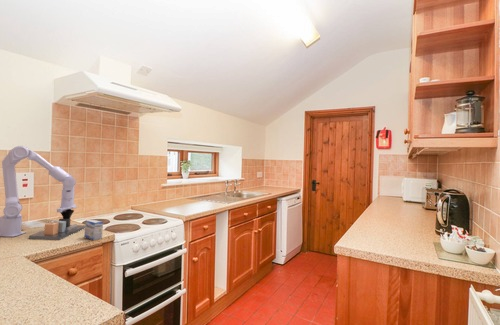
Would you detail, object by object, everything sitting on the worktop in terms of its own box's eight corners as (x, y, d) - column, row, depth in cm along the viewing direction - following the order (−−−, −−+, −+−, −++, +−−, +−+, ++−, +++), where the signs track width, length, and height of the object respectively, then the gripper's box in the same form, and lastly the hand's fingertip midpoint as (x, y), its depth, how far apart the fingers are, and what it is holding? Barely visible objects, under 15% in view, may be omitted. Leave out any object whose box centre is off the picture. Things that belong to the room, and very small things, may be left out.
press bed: (28, 238, 131) (29, 231, 131) (60, 227, 156) (61, 220, 156) (59, 240, 132) (59, 232, 132) (86, 228, 157) (86, 222, 157)
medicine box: (83, 237, 138) (85, 220, 138) (92, 235, 142) (93, 219, 142) (93, 240, 135) (94, 222, 135) (102, 238, 139) (103, 221, 139)
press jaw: (47, 231, 139) (48, 221, 139) (58, 227, 148) (58, 218, 148) (62, 232, 140) (62, 222, 140) (71, 228, 148) (72, 219, 148)
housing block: (44, 234, 135) (45, 222, 135) (49, 232, 139) (50, 220, 139) (52, 234, 135) (53, 222, 135) (58, 232, 139) (58, 220, 139)
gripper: (67, 200, 142) (65, 226, 142) (82, 197, 156) (81, 221, 156) (53, 199, 142) (51, 226, 141) (69, 196, 156) (68, 220, 156)
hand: (66, 223), depth 149 cm, fingers closed
